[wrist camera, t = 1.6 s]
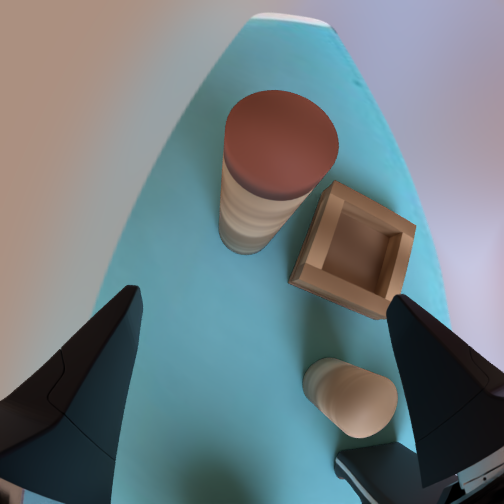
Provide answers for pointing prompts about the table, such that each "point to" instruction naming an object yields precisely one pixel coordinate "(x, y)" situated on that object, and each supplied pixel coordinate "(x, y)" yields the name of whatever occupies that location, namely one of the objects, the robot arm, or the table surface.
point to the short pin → (350, 396)
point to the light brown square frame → (354, 252)
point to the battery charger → (387, 475)
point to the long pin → (270, 165)
